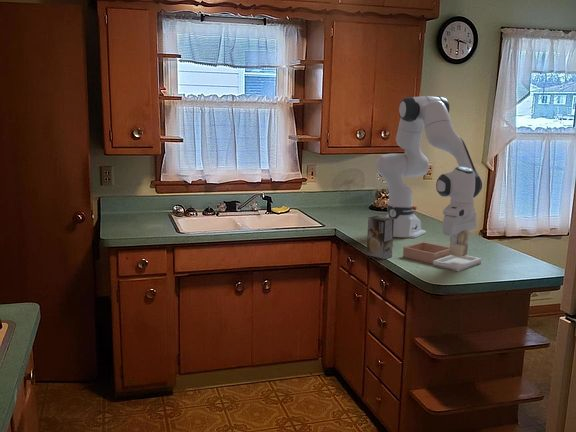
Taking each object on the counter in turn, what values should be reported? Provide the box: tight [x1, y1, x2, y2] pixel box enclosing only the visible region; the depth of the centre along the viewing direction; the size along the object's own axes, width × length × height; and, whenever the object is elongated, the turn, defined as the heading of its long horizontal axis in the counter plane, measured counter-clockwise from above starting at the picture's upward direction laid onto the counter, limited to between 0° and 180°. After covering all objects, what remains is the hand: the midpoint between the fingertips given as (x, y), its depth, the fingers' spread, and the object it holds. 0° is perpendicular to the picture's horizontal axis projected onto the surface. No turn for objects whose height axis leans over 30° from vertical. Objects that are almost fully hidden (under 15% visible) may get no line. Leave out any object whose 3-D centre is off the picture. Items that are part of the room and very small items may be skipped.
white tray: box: [432, 254, 482, 272], centre depth 236 cm, size 18×11×2 cm, turn 135°
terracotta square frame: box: [402, 241, 450, 264], centre depth 246 cm, size 15×15×4 cm
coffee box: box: [366, 215, 394, 260], centre depth 245 cm, size 9×6×16 cm
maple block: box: [449, 230, 470, 257], centre depth 234 cm, size 5×5×10 cm
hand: (458, 243), depth 234 cm, fingers closed on maple block, 5 cm apart
